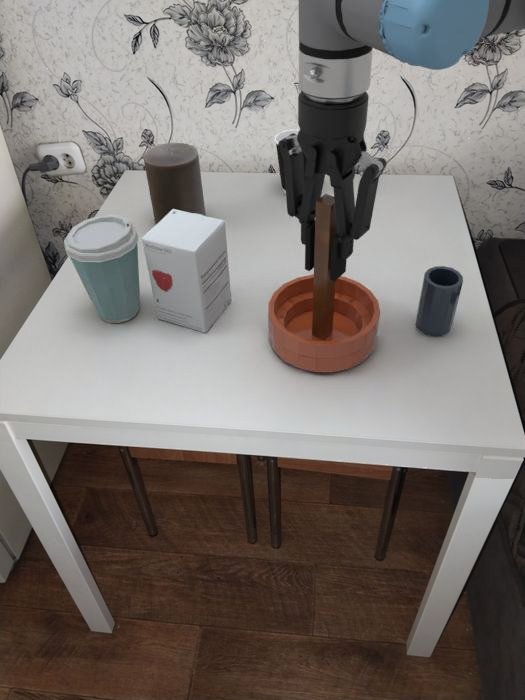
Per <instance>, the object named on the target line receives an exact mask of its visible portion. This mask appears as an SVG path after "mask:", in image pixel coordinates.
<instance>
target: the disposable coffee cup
mask: <svg viewBox="0 0 525 700" xmlns="http://www.w3.org/2000/svg"><path fill="white" fill-rule="evenodd" d="M138 242H139V234H138V231H137V230H136V228H135V225H134V224H133V223H132V222H131V220H130V218H129V217H128V216H124V215H121V214H118V213H113V214H112V213H111V214H110V213H109V214H100V215H97V216H93V217H90V218H87V219H84V220H82V221H81V222H80V223H78V224H76V225H74V226H73V227H71V229H70V231H69V232H68V234H67V235H66V237H65V238H64V240H63V244H64V246H63V248H64V250H65V252H66V256H67V257H69V259H70V261H71V262H72V264H73V267H74V269H75V271H76V273H77V274H78V278H79V279H80V281H81V283H82V285H83V287H84V290H85V291H86V293H87V295H88V297H89V300H90V301H91V303H92V305H93V307H94V309H95V311H96V313H97V315H98V317H100V319H101V320H103V321H105V322H106V323H108V324H121V323H124V322H127V321H130V320H131V319H133V318H134V317H135V316H137V314H138V312H139V309H140V306H141V297H140V295H141V293H140V291H141V290H140V271H139V269H140V268H139V249H138Z"/></svg>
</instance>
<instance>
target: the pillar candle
mask: <svg viewBox="0 0 525 700" xmlns="http://www.w3.org/2000/svg"><path fill="white" fill-rule="evenodd" d="M143 162H144V169H145V175H146V180H147V185H148V191H149V198H150V202H151V207H152V213H153V219H154V224H155V225H156V224H158V223H159V222H160V221H161V220H162V219H163V218H164V217H165V216H166V215H167V214H168V213H169V212H170V211H171V210H172V209H176V210H180V211H185V212H189V213H196V214H201V215H204V216H207V215H206V207H205V198H204V189H203V183H202V174H201V164H200V157H199V151H198V148H197V147H196V146H195V145H190V144H189V143H184V142H167V143H159V144H156V145H154V146H153V147H150V148H149V149H147V150H146V151H145V152H144V153H143Z"/></svg>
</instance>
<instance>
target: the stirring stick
mask: <svg viewBox="0 0 525 700" xmlns="http://www.w3.org/2000/svg"><path fill="white" fill-rule="evenodd" d="M337 233H338V229H337V219H336V209H335V199H334V195H330V194H328V193H324V194H323V195H321V198H319V199H318V200H317V201H316V214H315V248H314V268H313V274H314V282H313V317H312V335H313V336H315V337H317V338H319V339H321V340H324V341H325V340H326V339H327V338H328V337H329V336H330V335H331V334H332V331H333V315H334V299H335V282H336V281H335V282H334V281H332V280H330V269H331V250H332V237H333V236H334V235H336V234H337Z"/></svg>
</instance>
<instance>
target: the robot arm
mask: <svg viewBox="0 0 525 700" xmlns="http://www.w3.org/2000/svg"><path fill="white" fill-rule="evenodd" d="M519 30H520V31H521V30H525V0H298V88H299V90H300V92H299V94H298V95H297V124H298V128H299V132H298V134H297V135H296V134H295V133H292V134H290V135H289V136H287V137H285V138H284V139H282V140H281V141H279V143H278V145H279V149H280V151H281V154H282V157H283V160H284V173H285V187H286V194H285V197H286V199H285V200H286V211H287V212H286V213H287V215H288V216H289V217H291V218H294V217H295V218H296V219H298V222H299V224H300V242H301V244H302V245H304V246H305V247H304V270H305V271H308V272H310V271H312V270H314V248H315V214H316V201H317V200H318V199H319V198H321V197H322V193H323V188H324V184H325V183H324V182H325V177H326V175H327V176H328V177H329V183H330V187H332V189H333V196H334V199H335V209H336V219H337V229H338V233H337V234H336V235H334V236H333V237H332V250H331V269H330V280H332V281H334V282H335V281H336V280H337V279H338V278H339V277H340V276H343V275H344V274H345V273H346V272H347V260H348V259H349V258H350V257H351V256H352V255H353V253H354V244H355V243H354V241H355V240H356V241H358V240H359V239H361V238H362V237H363V236H364V235H365V234H366V233H367V232H368V231H370V229H371V223H372V218H373V213H374V207H375V203H376V197H377V191H378V186H379V181H380V177H381V176H382V174H383V172H384V170H385V169H386V167H387V160H386V159H385V158H383V157H379V158H377V159H376V158H375V157H374V156H373V155H372V154H371V153H369V152H368V151H367V150H368V147H367V143H366V141H365V133H366V127H367V121H368V120H367V119H368V112H369V111H368V110H369V99H370V98H369V94H368V92H367V91H368V90H369V89H370V87H371V77H372V64H373V63H372V61H373V49H374V50H376V51H379V52H381V53H383V54H386V55H387V56H389V57H390V56H391V57H393V58H394V59H395V60H398V61H399V62H401V63H403V64H407V65H409V66H414V67H421V68H425V69H428V70H431V71H432V70H433V71H434V70H435V71H441V70H446V69H449V68H451V67H453V66H456V64H458V63H459V62H460V59H461V58H462V57H464V56H465V55H467V54H469V53H470V52H471V51H472V50H473V49H474V47H475V46H476V44H477V43H478V41H479V40H483V39H486V38H489V37H493V36H497V35H502V34H505V33H509V32H514V31H519ZM302 151H303V152H302ZM303 153H304V155H305V157H306V159H307V163H306V169H305V177H306V181H304V162H303ZM358 163H359V164H360V169H359V172H358V174H359V176H360V180H359V182H358V186H357V193H356V199H355V190H354V188H355V187H354V179H355V176H356V172H355V171H356V169H355V167H356V165H358Z"/></svg>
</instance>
